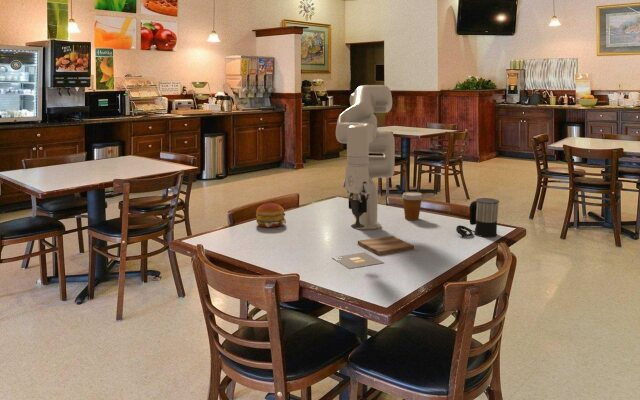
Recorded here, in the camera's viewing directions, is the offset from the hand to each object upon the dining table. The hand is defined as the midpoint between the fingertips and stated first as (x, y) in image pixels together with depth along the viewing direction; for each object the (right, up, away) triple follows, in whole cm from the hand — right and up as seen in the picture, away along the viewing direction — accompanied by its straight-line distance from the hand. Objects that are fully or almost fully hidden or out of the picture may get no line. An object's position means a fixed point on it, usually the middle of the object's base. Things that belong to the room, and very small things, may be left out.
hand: (357, 210), depth 205 cm
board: (+12, -15, +20) cm, 28 cm away
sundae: (0, -6, +1) cm, 6 cm away
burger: (-36, -8, +55) cm, 66 cm away
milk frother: (+52, -11, +36) cm, 64 cm away
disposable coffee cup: (+30, -5, +64) cm, 71 cm away
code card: (0, -18, +3) cm, 19 cm away
